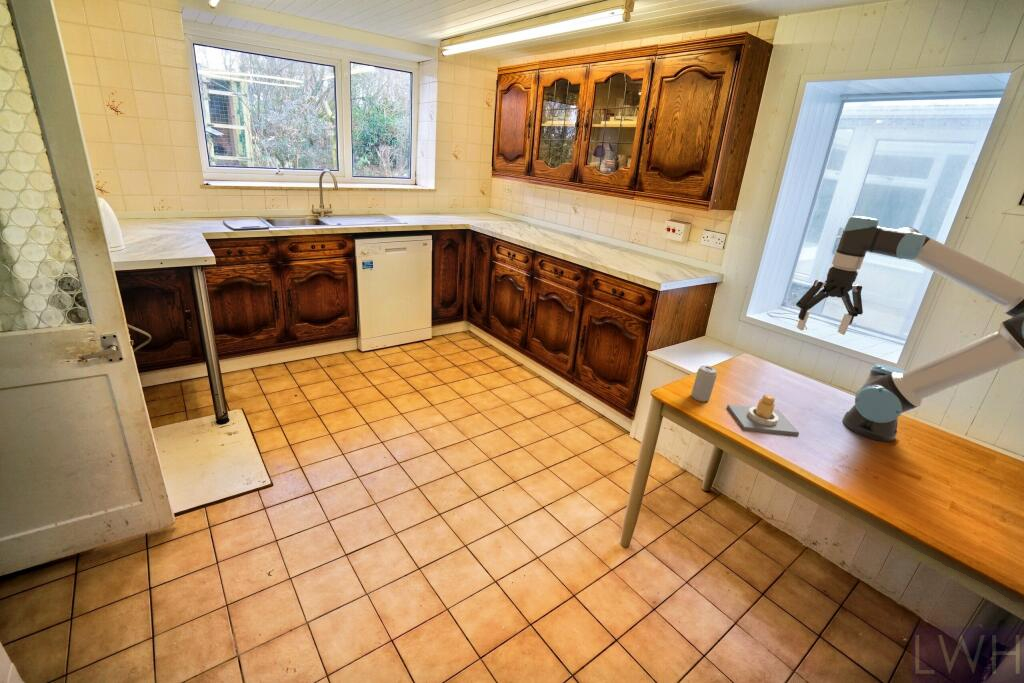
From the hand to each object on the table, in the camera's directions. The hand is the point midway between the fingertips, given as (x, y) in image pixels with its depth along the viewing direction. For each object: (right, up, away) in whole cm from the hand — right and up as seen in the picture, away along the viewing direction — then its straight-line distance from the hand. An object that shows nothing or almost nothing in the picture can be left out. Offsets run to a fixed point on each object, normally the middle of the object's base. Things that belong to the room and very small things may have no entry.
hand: (820, 331), depth 156 cm
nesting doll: (-16, -29, +5) cm, 34 cm away
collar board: (-16, -30, +6) cm, 35 cm away
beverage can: (-33, -24, +17) cm, 44 cm away
